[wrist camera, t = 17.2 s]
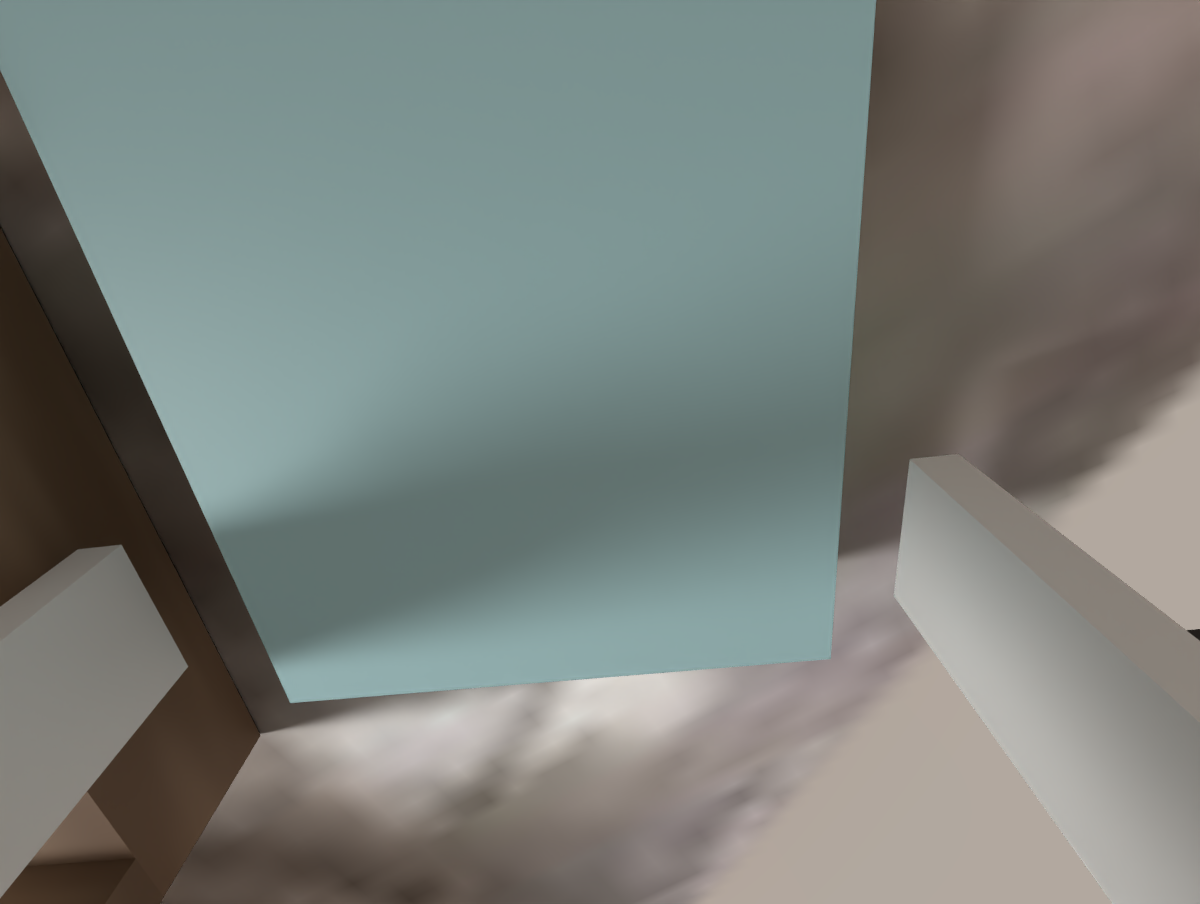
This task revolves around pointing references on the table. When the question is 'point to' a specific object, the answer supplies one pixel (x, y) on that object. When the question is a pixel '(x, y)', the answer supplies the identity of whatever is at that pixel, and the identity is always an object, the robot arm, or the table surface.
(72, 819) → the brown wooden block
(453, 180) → the teal rectangular block
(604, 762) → the table surface
